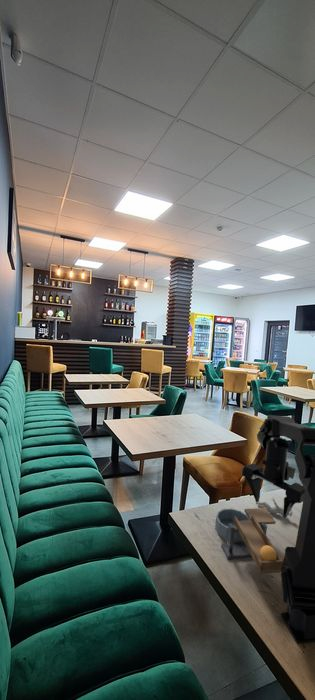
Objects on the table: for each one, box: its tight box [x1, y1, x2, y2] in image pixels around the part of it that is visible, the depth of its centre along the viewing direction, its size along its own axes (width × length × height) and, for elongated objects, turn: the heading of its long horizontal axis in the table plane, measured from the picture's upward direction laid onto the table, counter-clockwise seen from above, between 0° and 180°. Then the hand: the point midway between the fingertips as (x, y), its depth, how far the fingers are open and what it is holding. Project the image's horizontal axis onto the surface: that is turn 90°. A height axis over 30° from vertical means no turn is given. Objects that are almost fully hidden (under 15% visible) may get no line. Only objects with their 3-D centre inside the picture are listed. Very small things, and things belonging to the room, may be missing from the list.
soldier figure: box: [255, 498, 293, 517], centre depth 111 cm, size 8×5×12 cm
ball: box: [260, 545, 277, 561], centre depth 79 cm, size 4×4×4 cm
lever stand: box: [220, 522, 268, 560], centre depth 90 cm, size 5×13×8 cm, turn 100°
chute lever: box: [234, 507, 284, 575], centre depth 87 cm, size 22×14×3 cm, turn 10°
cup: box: [214, 508, 250, 543], centre depth 99 cm, size 11×11×4 cm
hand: (270, 509), depth 91 cm, fingers open, 9 cm apart
